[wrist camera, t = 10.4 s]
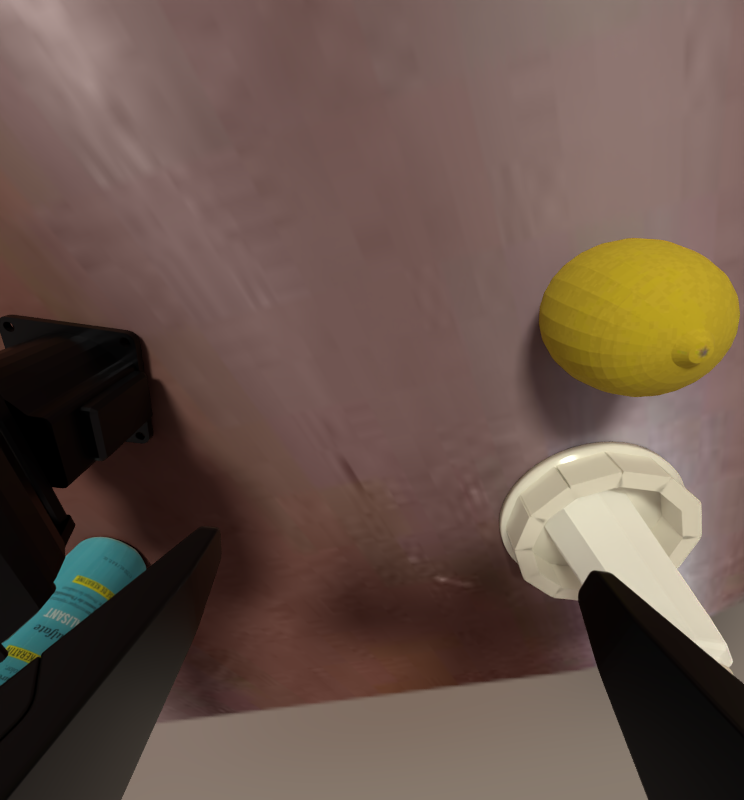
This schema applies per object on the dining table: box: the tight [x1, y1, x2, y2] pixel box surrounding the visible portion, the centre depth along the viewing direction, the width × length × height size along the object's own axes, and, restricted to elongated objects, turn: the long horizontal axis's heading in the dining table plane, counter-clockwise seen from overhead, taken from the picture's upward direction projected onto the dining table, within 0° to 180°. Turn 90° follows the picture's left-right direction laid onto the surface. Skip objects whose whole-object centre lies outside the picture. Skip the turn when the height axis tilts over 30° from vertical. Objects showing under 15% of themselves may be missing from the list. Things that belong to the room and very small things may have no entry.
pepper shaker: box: [545, 490, 733, 674], centre depth 19 cm, size 5×5×11 cm
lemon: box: [539, 238, 740, 397], centre depth 14 cm, size 6×6×8 cm
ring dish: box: [499, 442, 702, 600], centre depth 23 cm, size 11×11×2 cm
